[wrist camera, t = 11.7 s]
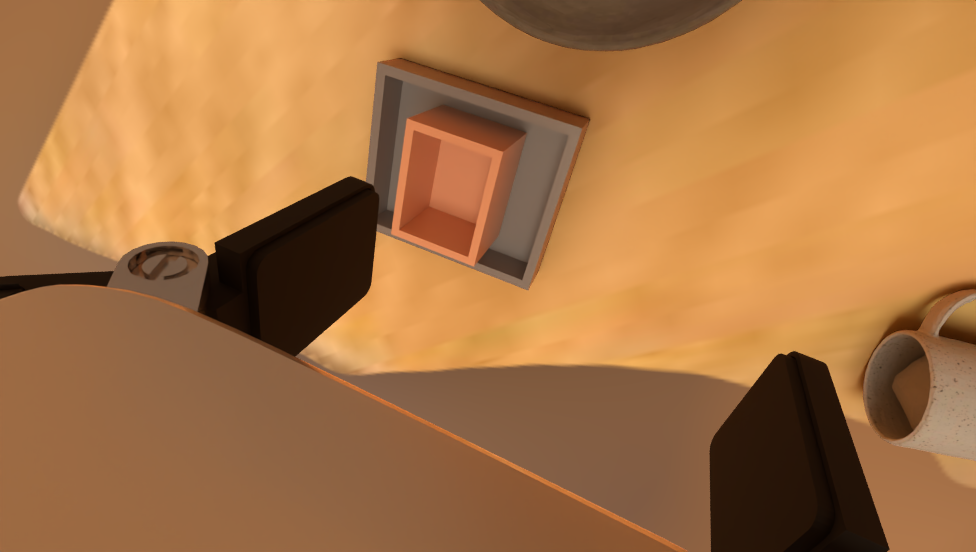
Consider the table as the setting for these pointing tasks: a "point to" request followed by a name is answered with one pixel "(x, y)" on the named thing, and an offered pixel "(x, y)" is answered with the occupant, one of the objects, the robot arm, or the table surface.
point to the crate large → (536, 178)
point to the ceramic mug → (925, 386)
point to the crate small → (455, 182)
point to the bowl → (607, 20)
